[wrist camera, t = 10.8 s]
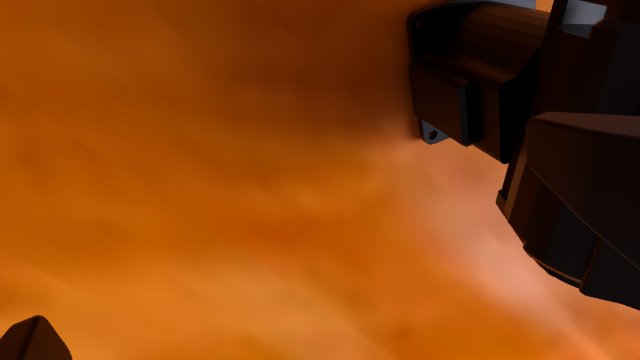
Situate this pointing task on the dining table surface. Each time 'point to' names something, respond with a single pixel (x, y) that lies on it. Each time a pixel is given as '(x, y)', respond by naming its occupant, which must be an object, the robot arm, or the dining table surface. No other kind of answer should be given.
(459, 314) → the dining table surface
